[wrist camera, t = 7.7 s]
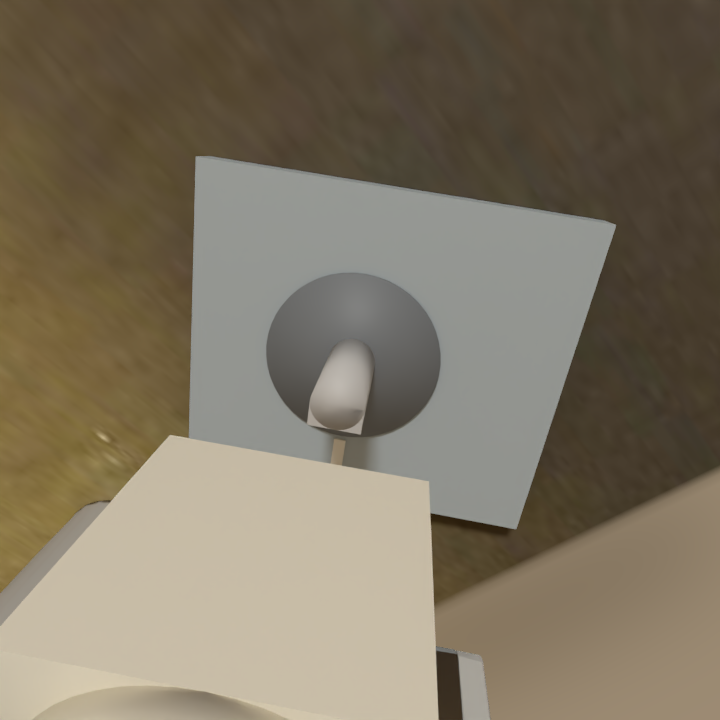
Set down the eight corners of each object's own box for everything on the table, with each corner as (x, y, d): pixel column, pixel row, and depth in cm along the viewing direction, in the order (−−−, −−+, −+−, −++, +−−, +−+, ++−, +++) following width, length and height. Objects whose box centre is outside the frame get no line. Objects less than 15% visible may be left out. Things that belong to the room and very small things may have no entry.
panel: (603, 220, 23) (669, 245, 17) (511, 510, 29) (535, 604, 23) (209, 156, 24) (137, 157, 18) (199, 451, 30) (143, 527, 24)
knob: (386, 668, 14) (359, 1124, 7) (168, 625, 14) (-46, 1030, 8) (428, 481, 12) (446, 893, 5) (170, 434, 12) (-131, 773, 5)
